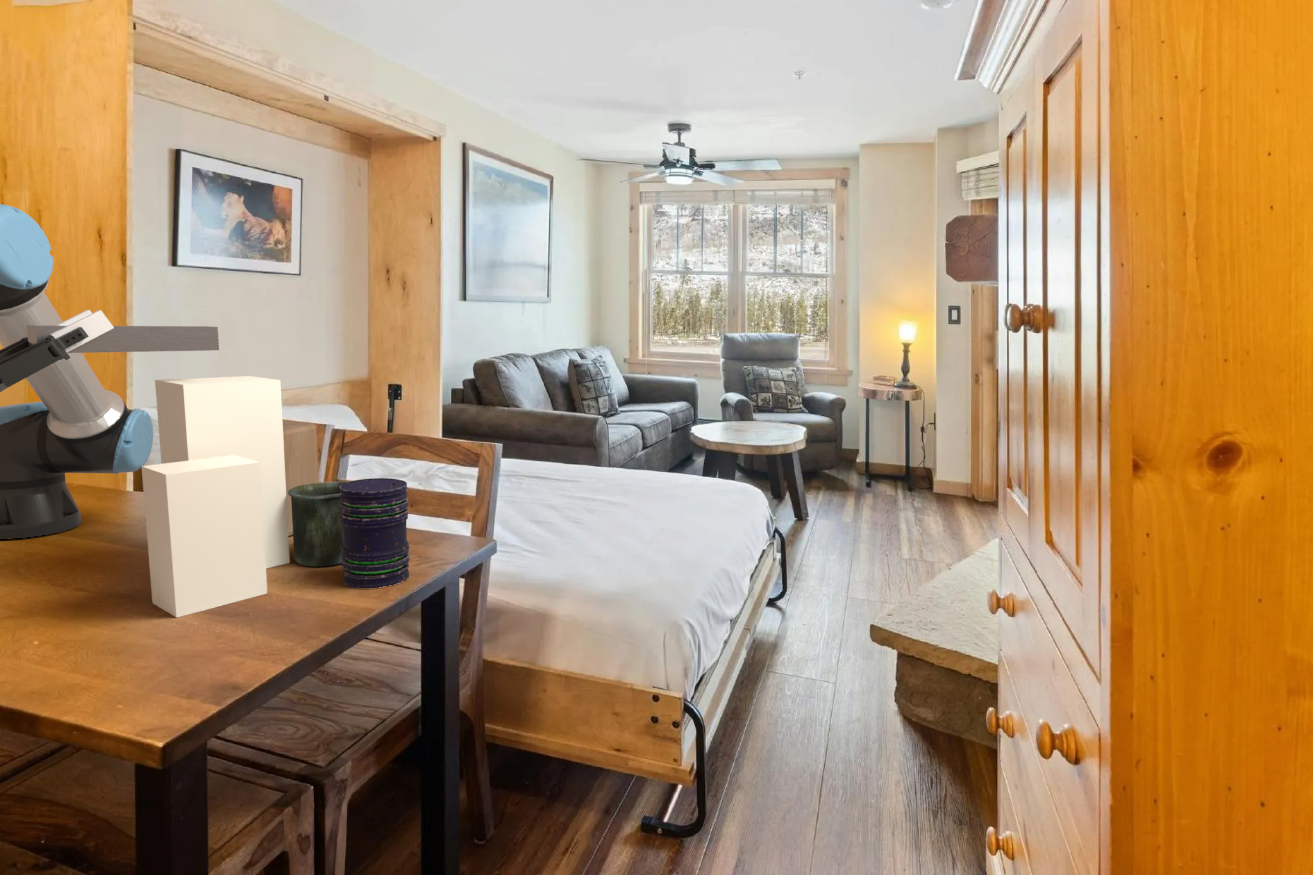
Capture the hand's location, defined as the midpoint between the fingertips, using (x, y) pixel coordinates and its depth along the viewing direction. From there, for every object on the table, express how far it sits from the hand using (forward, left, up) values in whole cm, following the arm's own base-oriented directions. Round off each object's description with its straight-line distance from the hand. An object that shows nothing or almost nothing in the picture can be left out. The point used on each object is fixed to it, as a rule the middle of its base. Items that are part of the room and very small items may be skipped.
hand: (100, 318), depth 103 cm
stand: (-1, +15, -39) cm, 42 cm away
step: (+11, +7, -39) cm, 41 cm away
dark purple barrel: (+21, +27, -39) cm, 52 cm away
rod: (0, +3, -4) cm, 6 cm away
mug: (+6, +29, -39) cm, 49 cm away
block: (-16, +31, -39) cm, 52 cm away
